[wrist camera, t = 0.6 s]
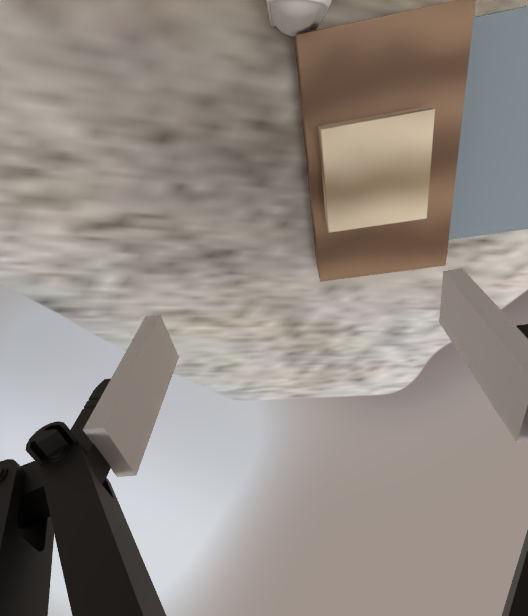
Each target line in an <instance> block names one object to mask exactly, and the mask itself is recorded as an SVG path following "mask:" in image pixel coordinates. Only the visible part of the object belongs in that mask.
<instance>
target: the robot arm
mask: <svg viewBox="0 0 528 616" xmlns="http://www.w3.org/2000/svg"><path fill="white" fill-rule="evenodd" d="M439 322H440V324H441V325H442V327H443V329H444V330H445V332H446V333H447V335H448V336H449V338H450V340H451V341H452V343H453V344H454V346H455V347H456V349H457V350H458V352H459V353H460V355H461V357H462V358H463V360H464V361H465V363H466V364H467V366H468V368H469V369H470V371H471V372H472V374H473V375H474V377H475V379H476V380H477V381H478V383H479V385H480V386H481V388H482V389H483V391H484V393H485V394H486V396H487V397H488V399H489V400H490V402H491V403H492V405H493V407H494V408H495V410H496V411H497V413H498V414H499V416H500V418H501V419H502V421H503V422H504V424H505V425H506V427H507V428H508V430H509V432H510V433H511V435H512V436H513V438H514V439H515V441H516V442H517V443H519V442H528V324H526V325H518V326H515V325H514V324H513V322H511V320H510V319H509V318H508V317H507V316H506V315H505V314H504V313H503V312H502V311H501V310H500V309H499V308H498V306H497V305H496V304H495V303H494V302H493V301H492V300H491V299H490V298H489V297H488V296H487V295H486V294H485V293H484V291H483V290H482V289H481V288H480V287H479V286H478V285H477V284H476V283H475V282H474V281H473V280H472V279H471V278H470V276H469V275H468V274H467V273H466V272H465V271H464V270H463V269H462V268H461V269H455V270H448V271H443V282H442V295H441V307H440V320H439ZM178 358H179V356H178V354H177V352H176V350H175V347H174V345H173V343H172V340H171V338H170V336H169V333H168V331H167V329H166V327H165V324H164V322H163V320H162V317H161V315H154V316H147V317H145V319H144V320H143V322H142V324H141V326H140V328H139V329H138V331H137V333H136V335H135V337H134V338H133V340H132V342H131V344H130V346H129V347H128V349H127V351H126V353H125V355H124V357H123V358H122V360H121V362H120V364H119V365H118V367H117V369H116V371H115V373H114V374H113V376H112V378H111V379H105V380H104V381H102V382H101V383H100V384H99V385H98V386H97V387H96V388H95V390H94V391H93V393H92V394H91V396H90V398H89V401H87V403H86V405H85V406H84V409H83V410H82V411H81V413H80V415H79V416H78V418H77V420H76V422H75V423H74V425H73V427H72V428H71V430H69V428H68V427H67V426H66V425H65V424H64V423H63V422H53V423H50V424H48V425H46V426H44V427H42V428H41V429H39V430H38V431H37V432H36V433H35V434H34V435H33V436H32V437H31V438H30V439H29V441H28V443H27V445H26V451H27V452H28V453H29V454H30V455H31V457H33V459H34V460H35V461H33V462H31V463H28V464H25V465H23V466H20V465H19V464H18V463H17V462H16V461H14V460H10V459H7V460H4V461H1V462H0V616H47V614H48V602H49V589H50V578H51V565H52V552H53V540H54V534H55V538H56V543H57V547H58V552H59V557H60V561H61V566H62V570H63V575H64V579H65V584H66V588H67V593H68V597H69V602H70V606H71V611H72V615H73V616H166V614H165V612H164V609H163V607H162V605H161V602H160V600H159V597H158V595H157V593H156V591H155V588H154V586H153V583H152V581H151V579H150V576H149V574H148V571H147V569H146V567H145V564H144V562H143V560H142V557H141V555H140V553H139V550H138V548H137V545H136V543H135V541H134V538H133V536H132V533H131V531H130V529H129V526H128V524H127V522H126V519H125V517H124V514H123V512H122V510H121V507H120V505H119V503H118V500H117V498H116V496H115V493H114V491H113V488H112V486H111V484H110V482H109V480H108V479H107V478H106V477H107V475H108V473H109V470H110V468H111V469H112V470H113V472H114V473H115V474H116V476H117V477H122V476H133V475H136V474H137V472H138V469H139V466H140V463H141V460H142V458H143V455H144V452H145V449H146V447H147V443H148V441H149V438H150V435H151V433H152V430H153V427H154V424H155V422H156V419H157V416H158V413H159V410H160V408H161V405H162V402H163V399H164V397H165V394H166V391H167V388H168V385H169V382H170V380H171V377H172V374H173V372H174V369H175V366H176V363H177V360H178ZM502 616H528V531H527V534H526V537H525V541H524V544H523V548H522V551H521V554H520V557H519V561H518V564H517V567H516V570H515V574H514V577H513V580H512V584H511V587H510V590H509V594H508V597H507V600H506V604H505V607H504V611H503V614H502Z"/></svg>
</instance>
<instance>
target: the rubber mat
mask: <svg viewBox="0 0 528 616" xmlns="http://www.w3.org/2000/svg"><path fill="white" fill-rule="evenodd" d="M522 229H528V7H523V8H518V9H513V10H509V11H504V12H499V13H494V14H489V15H485V16H480V17H475V18H474V20H473V29H472V37H471V46H470V55H469V64H468V72H467V81H466V90H465V99H464V108H463V116H462V125H461V134H460V143H459V152H458V160H457V169H456V178H455V187H454V195H453V204H452V213H451V222H450V231H449V239H457V238H464V237H471V236H479V235H486V234H493V233H500V232H508V231H515V230H522ZM449 239H448V240H449Z"/></svg>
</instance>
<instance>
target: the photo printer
mask: <svg viewBox="0 0 528 616" xmlns="http://www.w3.org/2000/svg"><path fill="white" fill-rule="evenodd" d="M331 2H332V0H266V3H267V9H268V15H269V21H270V25H271V26H276V27H277V28H278V29H279V30H280V31H281V32H282V33H284V34H286V35H288V36H296V35H298V34H302V33H306V32H308V31H309V30H310V29H316V28H317V27H318V25H319V23H320V21H321V20H322V18H323V17H324V15H325V14H326V12H327V10H328V9H329V7H330V4H331Z"/></svg>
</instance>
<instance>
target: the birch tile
mask: <svg viewBox="0 0 528 616" xmlns="http://www.w3.org/2000/svg"><path fill="white" fill-rule="evenodd" d="M434 116H435V109H433V108H427V107H419V108H413V109H408V110H402V111H397V112H391V113H386V114H380V115H375V116H369V117H364V118H358V119H353V120H347V121H342V122H336V123H331V124H325V125H320V126H318V131H319V143H320V156H321V169H322V181H323V194H324V207H325V219H326V225H327V228H328V231H329V233H330V232H337V231H344V230H350V229H357V228H364V227H371V226H378V225H385V224H392V223H399V222H405V221H412V220H419V219H426V218H427V208H428V195H429V182H430V169H431V155H432V142H433V129H434Z"/></svg>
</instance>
